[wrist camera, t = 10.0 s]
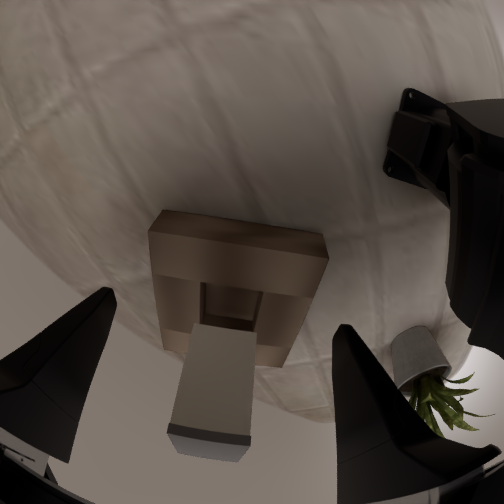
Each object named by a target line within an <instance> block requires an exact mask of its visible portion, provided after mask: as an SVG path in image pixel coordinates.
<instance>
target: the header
mask: <svg viewBox="0 0 504 504" xmlns="http://www.w3.org/2000/svg"><path fill="white" fill-rule="evenodd" d="M148 238H149V249H150V259H151V269H152V277H153V285H154V293H155V300H156V307H157V313H158V320H159V326H160V331H161V337H162V342H163V347H164V350H168V351H173V352H178V353H183V354H186V353H187V349H188V345H189V341H190V337H191V333H192V329H193V325H194V323H197V324H202V325H208V326H214V327H220V328H227V329H233V330H240V331H247V332H255V333H257V338H256V354H255V365H260V366H269V367H280V368H282V366H283V364H284V362H285V360H286V358H287V356H288V354H289V352H290V350H291V348H292V345H293V343H294V341H295V339H296V337H297V335H298V332H299V330H300V328H301V326H302V323H303V321H304V319H305V317H306V314H307V312H308V310H309V307H310V305H311V303H312V300H313V298H314V296H315V293H316V291H317V288H318V286H319V283H320V281H321V278H322V276H323V273H324V271H325V268H326V266H327V263H328V261H329V256H328V252H327V249H326V245H325V242H324V238H323V235H322V234H317V233H312V232H306V231H300V230H294V229H288V228H282V227H276V226H270V225H264V224H258V223H251V222H245V221H238V220H232V219H225V218H218V217H212V216H205V215H198V214H190V213H183V212H176V211H168V210H162V211H161V213H160V214H159V216H158V217H157V218H156V220H155V221H154V223H153V224H152V226H151V227H150V229H149V230H148Z"/></svg>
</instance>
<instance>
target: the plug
mask: <svg viewBox="0 0 504 504" xmlns="http://www.w3.org/2000/svg"><path fill="white" fill-rule="evenodd" d="M256 338H257V333H255V332H247V331H240V330H233V329H227V328H220V327H214V326H208V325H202V324H197V323H194V325H193V329H192V333H191V337H190V341H189V345H188V349H187V353H186V357H185V361H184V365H183V369H182V373H181V377H180V382H179V386H178V390H177V394H176V398H175V403H174V407H173V412H172V417H171V421H170V423H169V425H168V429H167V434H168V436H169V438H170V440H171V442H172V444H173V445H174V447H175V449H176V450H177V452H178V453H181V454H185V455H190V456H195V457H201V458H207V459H214V460H221V461H230V462H238V461H239V460H240V459H241V458H242V456H243V455H244V454H245V453H246V451H247V450H248V449H249V447H250V444H251V436H250V429H251V414H252V400H253V385H254V370H255V354H256Z"/></svg>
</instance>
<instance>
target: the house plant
mask: <svg viewBox="0 0 504 504" xmlns="http://www.w3.org/2000/svg"><path fill="white" fill-rule="evenodd" d="M391 350H392V360H393V371H394V383H395V385H396V386H397V387H398V389H399V390H400V391H401V393H402V394H403V396H404V397H410V396H412V397H410V400H409V404H410V405H411V406H412V407H413V408H414V410H415V407H416V410H417V411H416V410H415V411H416V412H417V413H418V414H419V415H420V417H421V418H422V419H423V420H425V421H426V424H427V425H428V426H429V427H430V428H431V429H432V430H433V431H434V432H435V433H436V434H437V435H439V436H441V437H443V438H445V437H444V436H443V434H442V432H441V431H440V429H439V426H438V424H437V421H436V419H435V417H434V415H433V412H432V409H431V406H432V407H433V408H434V409H435V410H436V411H438V412H439V414H440V415H441V417H442V419H443V421H444V422H445V423H446V424H447V425H448V426H449V428H450V429H451V430H453V424H454V425H456V426H457V427H458V428H461V429H465V430H469V431H476V430H479V429H475V428H473V427H471V426H470V425H468V424H467V423H466V422H465V421H463V413H465V414H468V415H472V416H475V417H486V416H478V415H475V414H472V413H469V412H465V411H463V407H462V405H461V404H460V403H459V401H461V400H463V398H461V397H460V400H459V401H457V400H456V399H455V398H454V397H453V396H460V395H465V394H469V393H472V392H474V391H476V390H478V389H472V390H467V389H450V388H447V387H445V385H444V383H443V380H446V381H448V382H450V383H459V384H460V383H465V382H467V381H468V380H469V379H470V378H471V377H472V376H473V374H472V375H470V376H468V377H466V378H463V379H460V380H456V381H452V380H448V379H446V378H447V377H448V375H449V374H450V372H451V369H452V367H451V366H450V364H449V362H448V361H447V359H446V357H445V356H444V354H443V352H442V351H441V349H440V347H439V346H438V344H437V343H436V341H435V340H434V338H433V336H432V335H431V333H430V332H429V330H428V329H427V328H426V327H424V326H416V327H413V328H410V329H408V330H406V331H404V332H403V333H401V334H400V335H398V336H397V337H396V338H395V339H394V340H393V342H392V344H391ZM416 401H417V406H416ZM445 402H446V403H447V404H448V405H447V404H446V403H445ZM430 405H431V406H430ZM449 406H451V407H452V408H453V409H454V410H455V411H456V412H457V413H456V412H455V411H454V410H453V409H451V408H450V407H449Z"/></svg>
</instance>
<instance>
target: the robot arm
mask: <svg viewBox="0 0 504 504" xmlns="http://www.w3.org/2000/svg"><path fill="white" fill-rule="evenodd" d="M410 92H412V94H413V97H412V98H410V96H409V94H410ZM387 146H388V148H389V150H388V153H387V156H386V159H385V163H384V166H383V171H384V173H385V174H386V175H387V176H389V177H392V178H395V179H398V180H401V181H404V182H407V183H410V184H413V185H416V186H419V187H422V188H425V189H427V190H429V191H430V192H431V193H432V194H433V195H434V196H436V197H437V198H438V199H439V200H440V201H441V202H442V203H443V204H444V205H445V206H446V207H447V208H448V209H449V210H450V238H449V252H448V263H447V273H446V281H445V283H446V287H447V291H448V296H449V299H450V307H451V308H452V310H453V311H454V313H455V314H456V316H457V317H458V318H459V319H460V320H461V321H462V322H463V323H464V324H465V325H466V326H468V327H469V328H471V332H470V335H469V337H468V341H467V342H468V344H470V345H473V346H478V347H482V348H486V349H488V350H490V351H492V352H494V353H495V354H497V355H499V356H500V357H501V358H502V359H503V360H504V99H485V100H473V101H464V102H455V103H447V104H443V103H441V102H439V101H437V100H435V99H434V98H432V97H430V96H428V95H426V94H424V93H422V92H420V91H418V90H415V89H413V88H406V89H405V90H404V93H403V97H402V101H401V105H400V109H399V111H398V112H396V115H395V119H394V123H393V127H392V131H391V134H390V138H389V141H388V145H387ZM390 167H393V169H392V171H390V172H389V171H388V169H389V168H390ZM116 308H117V301H116V298H115V294H114V291H113V289H112V288H109V287H102V288H100V289H99V290H98V291H96V292H95V293H93V294H92V295H90V296H89V297H88V298H86V299H85V300H83V301H82V302H81V303H79V304H78V305H76V306H75V307H74V308H72V309H71V310H70V311H68V312H67V313H65V314H64V315H63V316H62V317H60V318H59V319H57V320H56V321H55V322H53V323H52V324H51V325H49V326H48V327H47V328H45V329H44V330H43V331H42V333H41V332H40V333H39V334H37V335H36V336H35V337H34V338H32V339H31V340H29V341H28V342H27V343H25V344H24V345H22V346H21V347H20V348H18V349H16V350H15V351H14V352H12V353H10V354H9V355H7V356H6V357H4V358H3V359H1V360H0V504H95V503H92V502H90V501H88V500H85V499H84V498H81V497H79V496H77V495H75V494H73V493H71V492H69V491H67V490H66V489H64V488H62V487H60V486H58V483H57V481H56V479H55V477H54V475H53V473H52V471H51V469H50V467H49V465H48V463H47V461H48V458H49V455H50V456H52V457H54V458H56V459H59V460H61V461H63V462H65V463H69V460H70V455H71V451H72V447H73V442H74V439H75V435H76V431H77V428H78V422H79V420H80V417H81V413H82V410H83V406H84V403H85V400H86V397H87V394H88V391H89V388H90V385H91V382H92V379H93V376H94V373H95V371H96V368H97V365H98V362H99V360H100V357H101V354H102V352H103V349H104V346H105V344H106V341H107V338H108V335H109V331H110V328H111V325H112V321H113V318H114V314H115V311H116ZM332 382H333V394H334V407H335V423H336V442H337V464H338V465H337V504H504V460H502V461H500V462H498V463H497V464H495V465H493V466H491V467H489V468H486V469H484V464H485V463H487V462H489V461H490V460H492V459H494V458H495V457H497V456H498V455H500V454H501V453H502V451H501V450H500V449H499V448H498V447H497V446H495V445H492V444H489V445H488V446H486V447H484V448H475V447H471V446H467V445H464V444H461V443H458V442H455V441H452V440H448V439H446V438H443V437H441V436H439V435H437V434H436V433H435V432H434V431H433V430H432V429H431V428H430V427H429V426H428V425H427V424H426V422H425V421H424V420H423V419H422V418H421V417H420V415H419V414H418V413H417V412H416V411H415V410H414V408H413V407H412V406H411V405H410V404H409V402H408V401H407V400H406V398H405V397H404V396H403V394H402V393H401V391H400V390H399V389H398V387H397V386H396V385H395V383H394V382H393V380H392V379H391V378H390V376H389V375H388V374H387V372H386V371H385V369H384V368H383V367H382V365H381V364H380V363H379V361H378V360H377V359H376V357H375V356H374V355H373V353H372V352H371V351H370V349H369V348H368V347H367V345H366V344H365V343H364V341H363V340H362V339H361V337H360V336H359V335H358V333H357V332H356V331H355V329H354V328H353V327H352V326H351V325H349V324H341V325H340V326H339V328H338V329H337V331H336V333H335V334H334V336H333V340H332Z"/></svg>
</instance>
